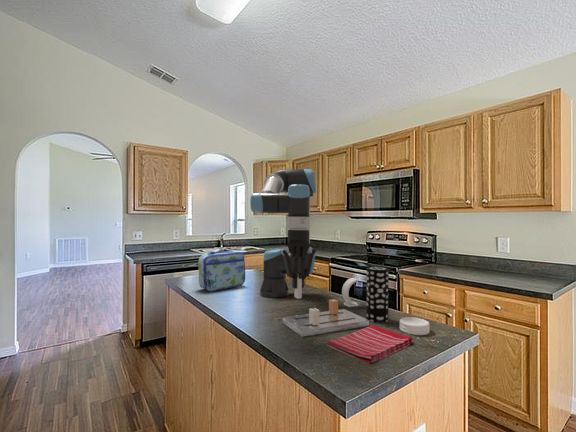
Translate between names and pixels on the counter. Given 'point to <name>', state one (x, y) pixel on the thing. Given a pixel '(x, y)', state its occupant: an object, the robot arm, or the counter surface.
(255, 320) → the counter surface
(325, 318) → the console
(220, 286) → the lunch box
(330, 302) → the fader terracotta
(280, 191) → the robot arm
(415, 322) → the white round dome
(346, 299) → the headphone stand
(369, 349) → the dish towel
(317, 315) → the fader cream
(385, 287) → the white-spotted black cylinder
